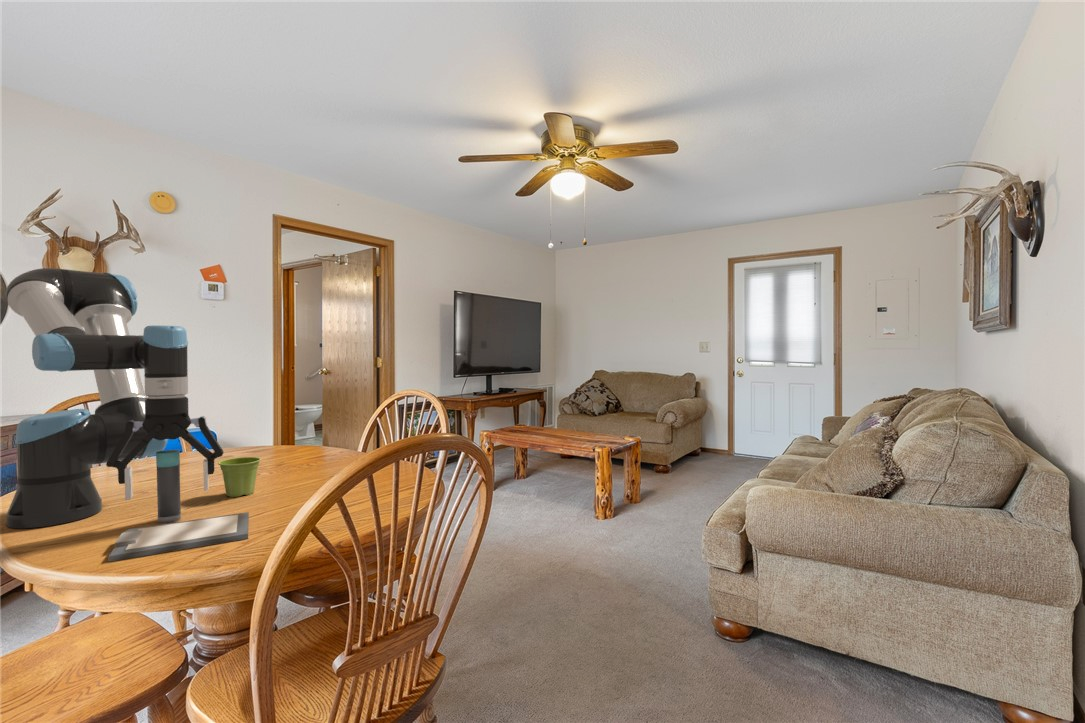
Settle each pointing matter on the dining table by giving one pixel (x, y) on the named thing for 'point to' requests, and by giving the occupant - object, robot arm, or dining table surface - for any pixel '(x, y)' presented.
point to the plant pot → (239, 475)
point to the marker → (168, 485)
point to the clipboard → (180, 536)
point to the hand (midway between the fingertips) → (168, 493)
